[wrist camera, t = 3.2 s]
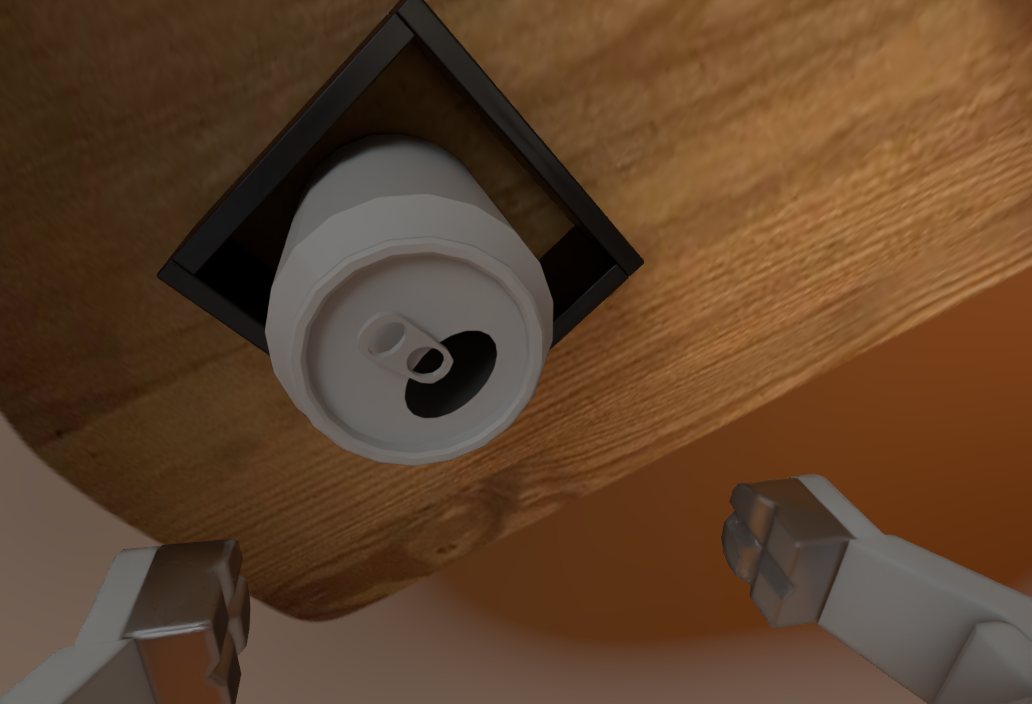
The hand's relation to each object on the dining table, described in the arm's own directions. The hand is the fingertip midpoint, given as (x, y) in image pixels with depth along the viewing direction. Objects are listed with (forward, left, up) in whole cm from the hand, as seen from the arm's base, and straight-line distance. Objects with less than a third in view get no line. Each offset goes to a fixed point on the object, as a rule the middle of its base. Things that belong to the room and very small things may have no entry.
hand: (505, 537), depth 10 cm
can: (-1, -1, -18) cm, 18 cm away
